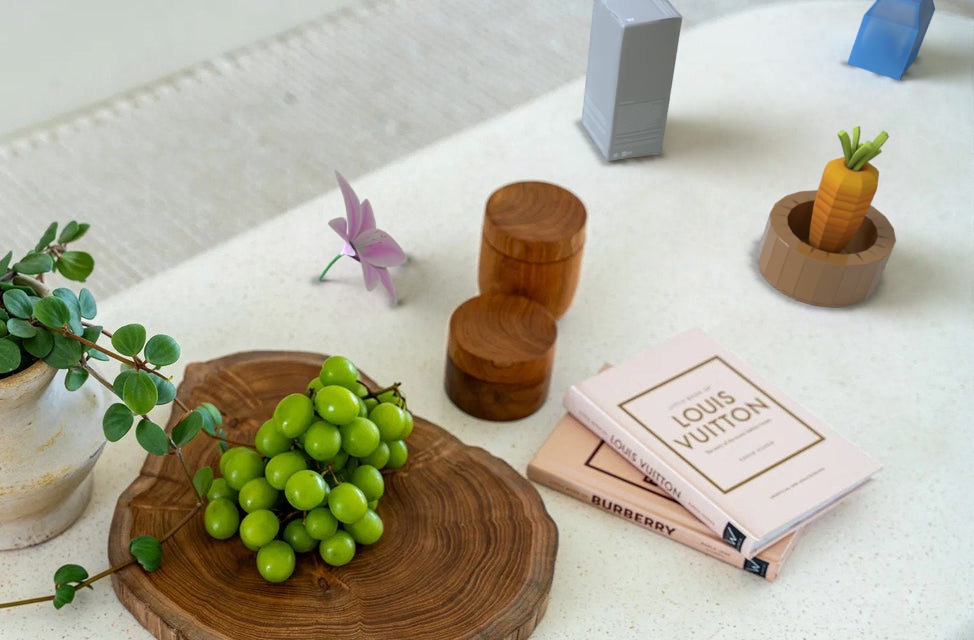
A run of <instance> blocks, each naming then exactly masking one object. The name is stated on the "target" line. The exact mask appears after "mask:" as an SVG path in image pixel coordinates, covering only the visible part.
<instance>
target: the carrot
mask: <svg viewBox="0 0 974 640" xmlns="http://www.w3.org/2000/svg"><path fill="white" fill-rule="evenodd" d="M837 136H838V139H839V141H840V144H841V149H842V152H843V156H842V157H838V158H835V159H832V160H829V161H828V162H827V163H826V165H825V167H824V170H823V173H822V175H821V178H820V182H819V185H818V188H817V190H818V192H817V195H816V199H815V202H814V207H813V213H812V220H811V226H810V235H809V244H810V246H811V247H813V248H815V249H818V250H821V251H825V252H828V253H835V254H839V253H840V252H841V251H842V250H843V249H844V248H845V247H846V246H847V244H848V243H849V241H850V240H851V239H852V237H853V236H854V234H855V233H856V231H857V230H858V228H859V227H860V225H861V223H862V221H863V219H864V217H865V215H866V213H867V211H868V209H869V207H870V205H871V204H872V202H873V200H874V197H875V195H876V193H877V191H878V186H879V185H878V184H879V177H880V171H879V170H878V168H877V167H876V166H874V165H873V164H871V163H870V161H871V160H873V159H874V158H876V157H877V156H878V155H880V154H881V153H882V152H883V150H882V149H881V147H883V145H884V144H885V143H886V142H887V140H888V139H889V138H890V136H889V134H888V132H887V131H885V130H882V131H881V132H880V133H879V134H878V135H877V136H876V137H875V139H874V140H873V141H869V140H867V141H865V142H864V143H863V142H861V143H860V138H861V126H859V125H858V126H855V127H853V129H852V140H851V138H850V135H849V134H848V132H847V131H846V130H845V129H841V130H839V131H838V132H837Z"/></svg>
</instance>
